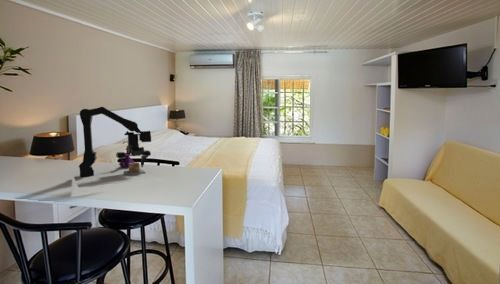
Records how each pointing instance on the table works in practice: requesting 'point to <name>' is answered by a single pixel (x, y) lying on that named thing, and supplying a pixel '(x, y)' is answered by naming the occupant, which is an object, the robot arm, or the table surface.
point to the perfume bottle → (128, 159)
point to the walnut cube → (134, 167)
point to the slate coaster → (134, 172)
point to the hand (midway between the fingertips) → (134, 168)
